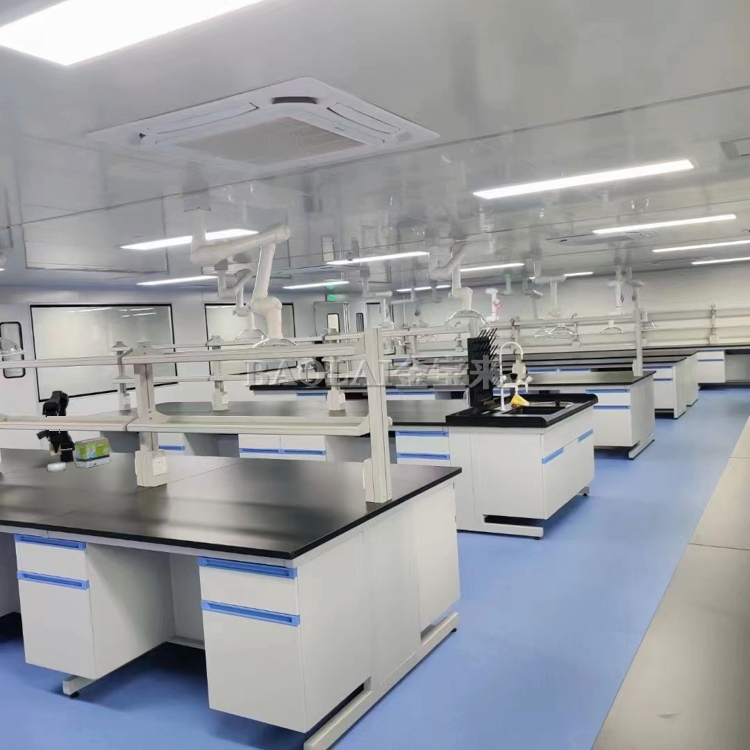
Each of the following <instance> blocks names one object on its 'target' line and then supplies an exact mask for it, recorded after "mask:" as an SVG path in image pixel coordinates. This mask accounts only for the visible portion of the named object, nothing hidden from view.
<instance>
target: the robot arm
mask: <svg viewBox="0 0 750 750" xmlns="http://www.w3.org/2000/svg"><path fill="white" fill-rule="evenodd" d="M69 402H70V397H69V395H68V393H66V392H63V390H53V391H51V396H50V398H49V399H48V400H46V401H44V403H43V404H42V412H41V415H42V416H44V417H47V416H66V415H67V409H68V406H69ZM35 435H36V437H37V439H38V440H42V439H44V438H45V439H46V440H47V441H48V442H49V443H52V445H53V448H54V451H55V453H57V452H58V449H59V446H60V447H61V454H59V462H65V463H69V462H70V463H72V462H75V459H74V451H75V452H76V448H75V442H74V441H73V438H72V436H71V435H70V434H69V430H68V431H60V430H59V431H49V430H46V429H44V430H41V431H39V432H37V433H36V434H35Z"/></svg>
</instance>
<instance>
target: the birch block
mask: <svg viewBox="0 0 750 750" xmlns="http://www.w3.org/2000/svg"><path fill="white" fill-rule="evenodd" d="M48 448H49V455H50V456H56V455H57V456H58V455H59V456H60V454H61V447H60V446H59V449H58V452H57V453H55V451H54V448H53V445H52V443H50V442H49V443H48Z"/></svg>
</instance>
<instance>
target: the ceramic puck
mask: <svg viewBox="0 0 750 750" xmlns="http://www.w3.org/2000/svg"><path fill="white" fill-rule="evenodd" d="M66 463H67V462H61V461H59V462H53V463H52V462H51V463H49V464H47V473H52V474H53V473H61V472H63V471H66V470H67V464H66Z"/></svg>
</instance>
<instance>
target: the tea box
mask: <svg viewBox="0 0 750 750" xmlns="http://www.w3.org/2000/svg"><path fill="white" fill-rule="evenodd" d="M109 441H110V440H109V438H108V437H95V438H94V437H93V438H87V439H82V440H77V441H76V440H75V442H74V445H75V459H76V461H75V462H76V467H77V468H83V469H88V468H92V467H97V466H101V465H102V466H103V465H106V464H107V465H109V464H110V463H111V457H110V453H111V452H110V443H109Z"/></svg>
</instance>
